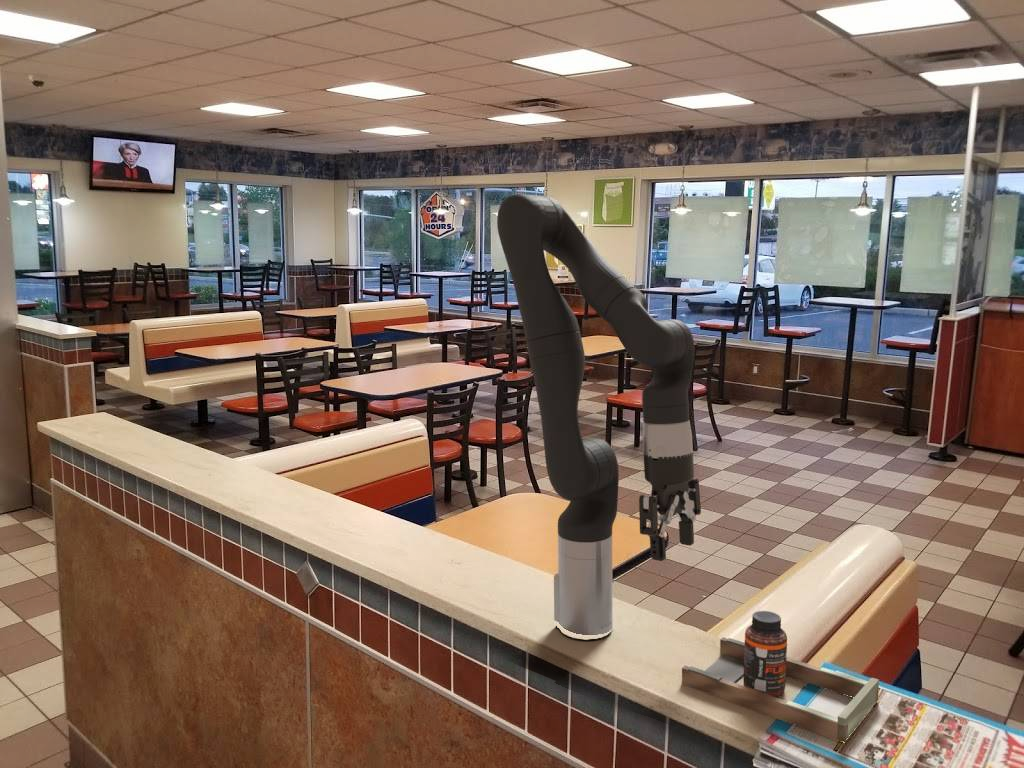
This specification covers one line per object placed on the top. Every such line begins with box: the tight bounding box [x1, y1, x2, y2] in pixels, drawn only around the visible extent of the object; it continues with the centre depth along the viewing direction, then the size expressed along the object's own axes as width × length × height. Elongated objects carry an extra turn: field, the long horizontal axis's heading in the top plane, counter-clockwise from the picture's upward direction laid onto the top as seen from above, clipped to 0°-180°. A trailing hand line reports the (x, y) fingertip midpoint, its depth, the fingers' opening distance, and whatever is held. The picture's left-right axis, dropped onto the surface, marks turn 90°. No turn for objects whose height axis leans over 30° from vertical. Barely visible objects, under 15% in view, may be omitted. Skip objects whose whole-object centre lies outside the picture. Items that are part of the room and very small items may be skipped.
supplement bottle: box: [742, 610, 788, 697], centre depth 119 cm, size 6×6×11 cm
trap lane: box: [681, 637, 880, 742], centre depth 118 cm, size 24×13×4 cm, turn 48°
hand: (673, 551), depth 127 cm, fingers open, 8 cm apart
